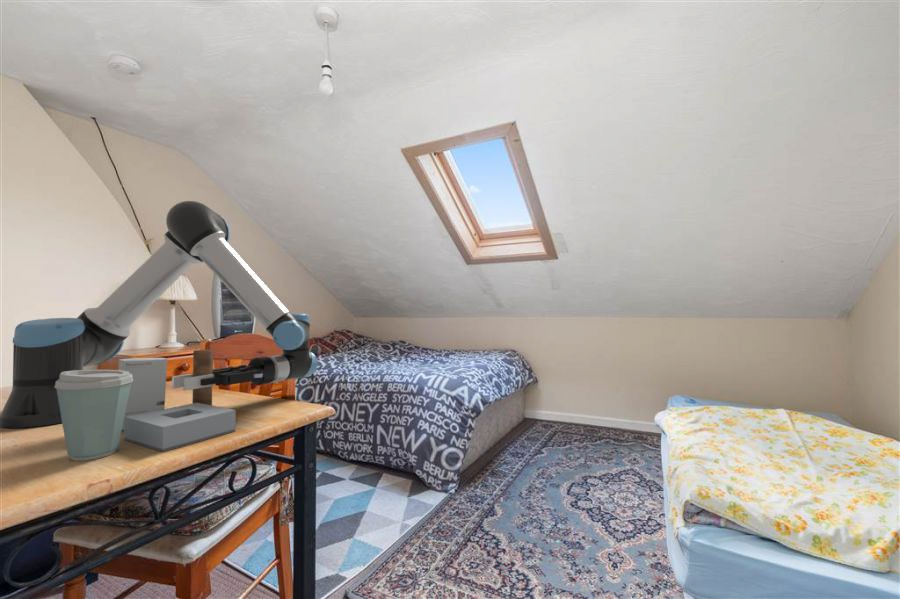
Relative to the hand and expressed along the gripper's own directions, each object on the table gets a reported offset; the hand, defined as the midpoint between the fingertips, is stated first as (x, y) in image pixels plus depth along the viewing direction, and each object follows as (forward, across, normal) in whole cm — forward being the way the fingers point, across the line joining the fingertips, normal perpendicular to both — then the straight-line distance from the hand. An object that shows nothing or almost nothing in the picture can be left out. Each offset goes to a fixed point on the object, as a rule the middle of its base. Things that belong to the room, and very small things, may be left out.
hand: (178, 383), depth 91 cm
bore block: (+5, -10, -9) cm, 14 cm away
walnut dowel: (-5, 0, -9) cm, 10 cm away
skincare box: (+5, +6, -9) cm, 12 cm away
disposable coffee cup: (+18, -8, -9) cm, 22 cm away
